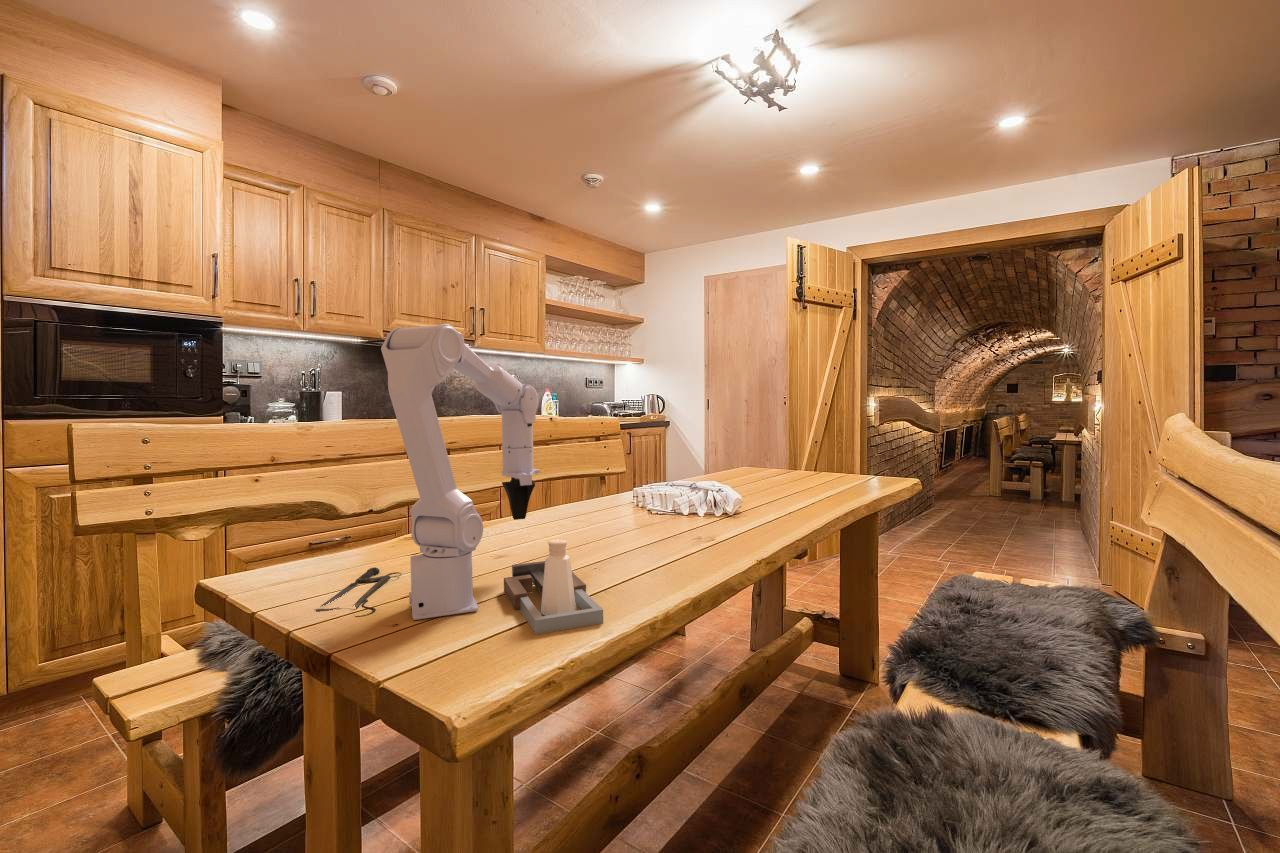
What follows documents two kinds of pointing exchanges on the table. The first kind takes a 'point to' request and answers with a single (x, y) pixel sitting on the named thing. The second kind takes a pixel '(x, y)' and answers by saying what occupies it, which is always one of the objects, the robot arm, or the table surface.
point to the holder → (528, 588)
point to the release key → (531, 572)
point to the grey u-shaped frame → (563, 615)
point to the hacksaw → (366, 578)
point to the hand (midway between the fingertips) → (519, 518)
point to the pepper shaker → (557, 581)
